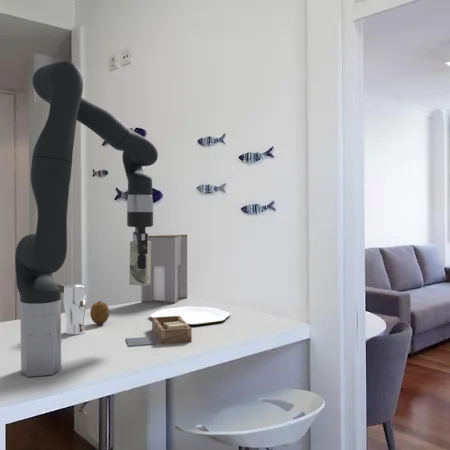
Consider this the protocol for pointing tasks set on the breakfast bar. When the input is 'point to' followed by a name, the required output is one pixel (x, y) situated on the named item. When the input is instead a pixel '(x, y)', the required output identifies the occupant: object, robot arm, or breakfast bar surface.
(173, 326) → the offcut
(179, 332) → the wooden tray
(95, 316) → the fruit
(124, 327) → the breakfast bar surface
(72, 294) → the beer glass
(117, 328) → the breakfast bar surface
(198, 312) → the plate
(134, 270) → the box
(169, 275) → the cabinet
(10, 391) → the breakfast bar surface
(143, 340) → the mat
